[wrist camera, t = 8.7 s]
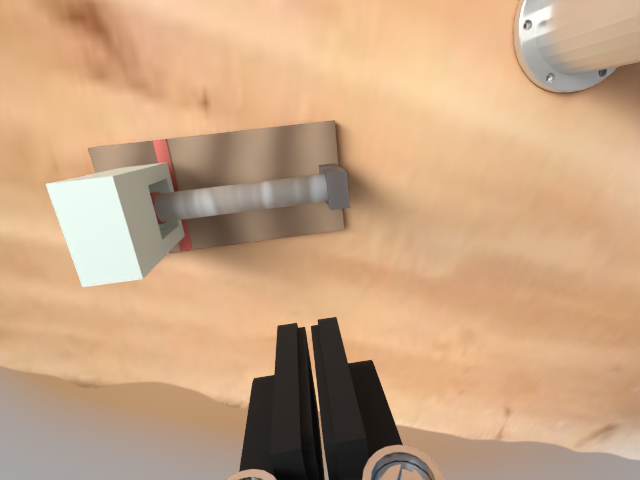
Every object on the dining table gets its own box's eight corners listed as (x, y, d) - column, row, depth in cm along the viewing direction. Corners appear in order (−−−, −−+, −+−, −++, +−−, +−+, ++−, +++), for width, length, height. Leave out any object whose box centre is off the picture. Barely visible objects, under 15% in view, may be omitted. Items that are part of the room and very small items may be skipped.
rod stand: (333, 120, 34) (347, 117, 26) (342, 226, 37) (358, 252, 29) (94, 147, 32) (32, 152, 24) (127, 254, 36) (81, 290, 28)
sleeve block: (167, 162, 31) (112, 176, 21) (184, 235, 33) (142, 278, 23) (121, 167, 30) (45, 184, 21) (142, 241, 33) (82, 286, 23)
